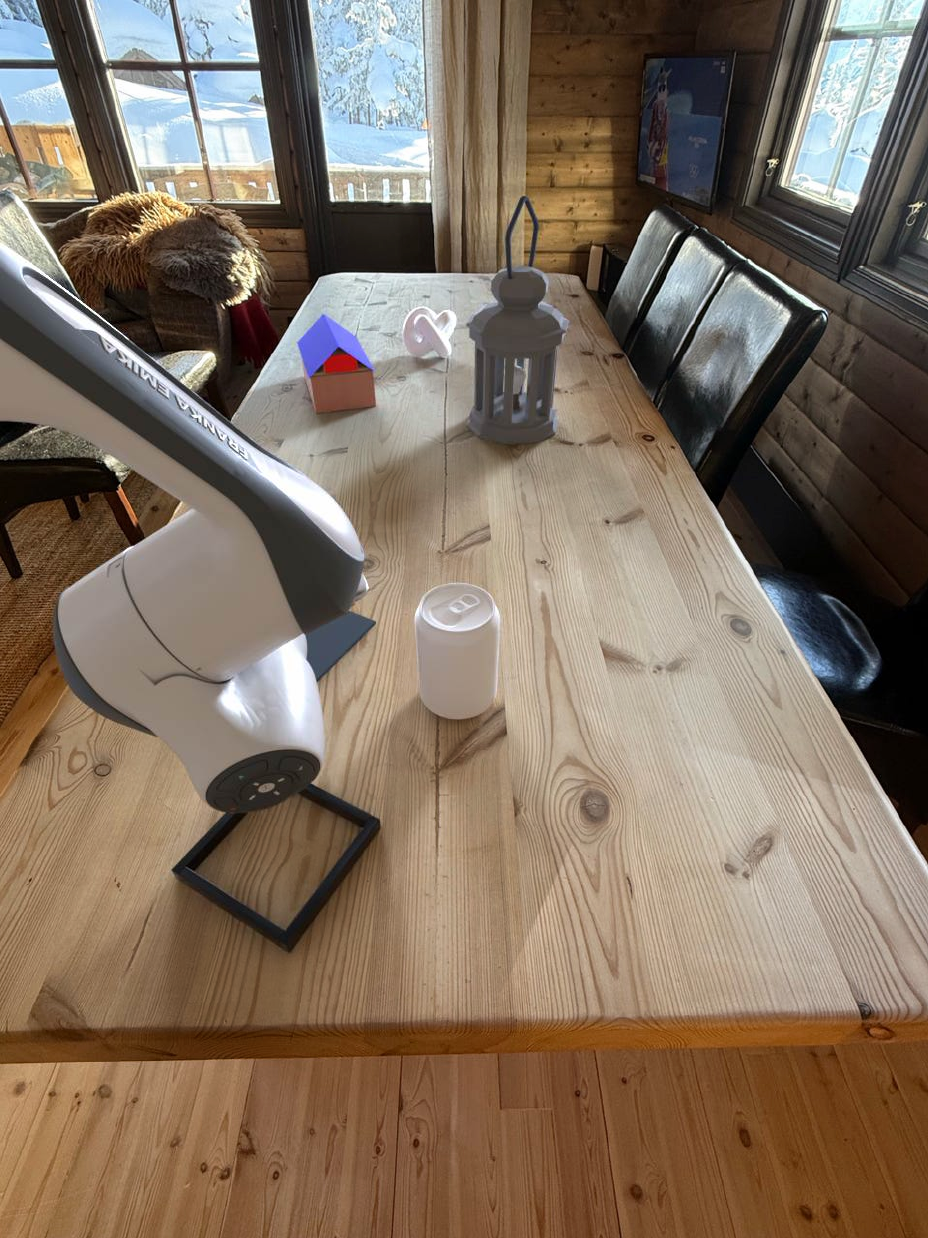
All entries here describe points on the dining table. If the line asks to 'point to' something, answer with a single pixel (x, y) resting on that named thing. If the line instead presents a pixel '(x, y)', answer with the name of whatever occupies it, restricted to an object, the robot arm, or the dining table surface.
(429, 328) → the white knot sculpture
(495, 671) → the beverage can
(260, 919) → the black open square frame
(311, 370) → the house
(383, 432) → the dining table surface
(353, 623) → the mat
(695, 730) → the dining table surface
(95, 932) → the dining table surface
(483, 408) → the lantern
